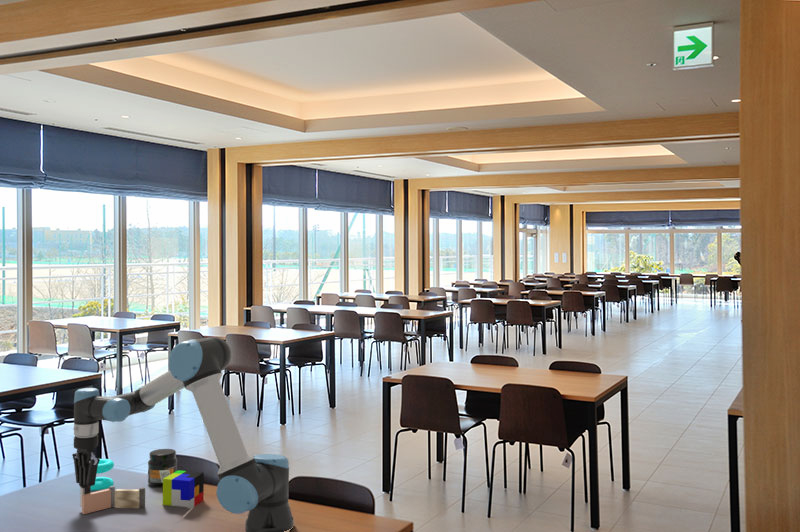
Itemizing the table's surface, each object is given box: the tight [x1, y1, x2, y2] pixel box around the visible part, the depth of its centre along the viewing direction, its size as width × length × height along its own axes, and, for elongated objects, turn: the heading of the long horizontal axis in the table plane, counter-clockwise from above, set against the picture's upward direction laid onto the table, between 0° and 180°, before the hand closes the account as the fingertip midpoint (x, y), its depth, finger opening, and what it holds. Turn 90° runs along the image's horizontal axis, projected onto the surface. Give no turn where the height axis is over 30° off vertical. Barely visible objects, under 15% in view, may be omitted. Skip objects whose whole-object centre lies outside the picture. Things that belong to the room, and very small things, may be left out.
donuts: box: [90, 458, 115, 491], centre depth 255 cm, size 10×10×10 cm
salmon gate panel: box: [81, 485, 116, 515], centre depth 230 cm, size 11×2×7 cm, turn 138°
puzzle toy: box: [162, 469, 205, 511], centre depth 240 cm, size 10×10×10 cm
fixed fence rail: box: [114, 487, 146, 509], centre depth 233 cm, size 10×2×7 cm, turn 89°
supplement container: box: [147, 448, 178, 488], centre depth 262 cm, size 10×10×12 cm
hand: (85, 505), depth 230 cm, fingers closed
